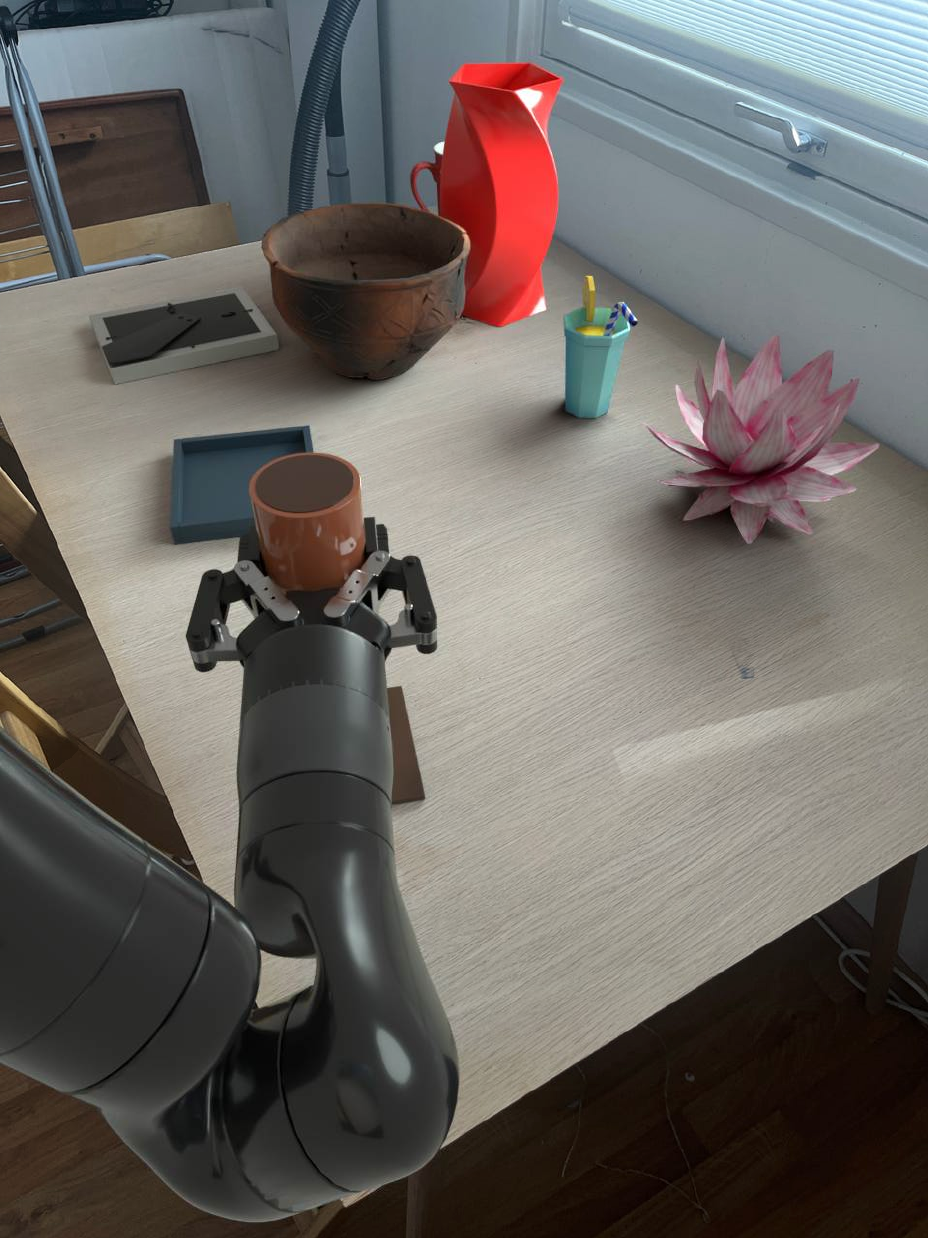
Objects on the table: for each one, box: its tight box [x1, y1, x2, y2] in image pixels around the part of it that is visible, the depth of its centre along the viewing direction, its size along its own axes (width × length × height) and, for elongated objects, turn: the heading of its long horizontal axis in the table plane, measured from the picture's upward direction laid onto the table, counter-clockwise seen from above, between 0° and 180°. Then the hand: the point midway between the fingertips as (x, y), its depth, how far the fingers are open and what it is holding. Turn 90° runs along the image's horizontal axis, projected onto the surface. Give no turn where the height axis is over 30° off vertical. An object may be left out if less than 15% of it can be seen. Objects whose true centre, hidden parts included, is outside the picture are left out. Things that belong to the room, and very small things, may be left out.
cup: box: [562, 275, 639, 419], centre depth 98 cm, size 14×8×15 cm, turn 20°
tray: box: [169, 424, 315, 545], centre depth 91 cm, size 15×16×2 cm
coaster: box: [387, 685, 426, 806], centre depth 68 cm, size 11×11×1 cm
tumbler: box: [249, 452, 367, 595], centre depth 55 cm, size 6×6×13 cm
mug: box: [409, 140, 445, 216], centre depth 135 cm, size 13×9×14 cm
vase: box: [440, 62, 564, 328], centre depth 114 cm, size 15×14×28 cm
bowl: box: [260, 202, 470, 381], centre depth 107 cm, size 25×25×15 cm
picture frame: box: [88, 286, 280, 385], centre depth 114 cm, size 16×3×21 cm
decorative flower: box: [643, 333, 880, 544], centre depth 86 cm, size 21×21×15 cm
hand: (314, 531), depth 56 cm, fingers closed on tumbler, 6 cm apart
